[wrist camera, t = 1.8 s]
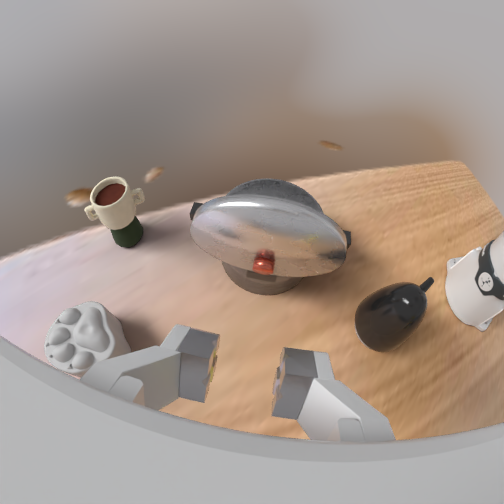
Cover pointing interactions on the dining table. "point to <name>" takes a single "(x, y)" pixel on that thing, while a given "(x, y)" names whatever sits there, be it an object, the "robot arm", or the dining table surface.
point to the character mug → (117, 209)
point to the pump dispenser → (391, 315)
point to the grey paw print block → (84, 338)
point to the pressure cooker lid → (269, 235)
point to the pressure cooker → (252, 279)
